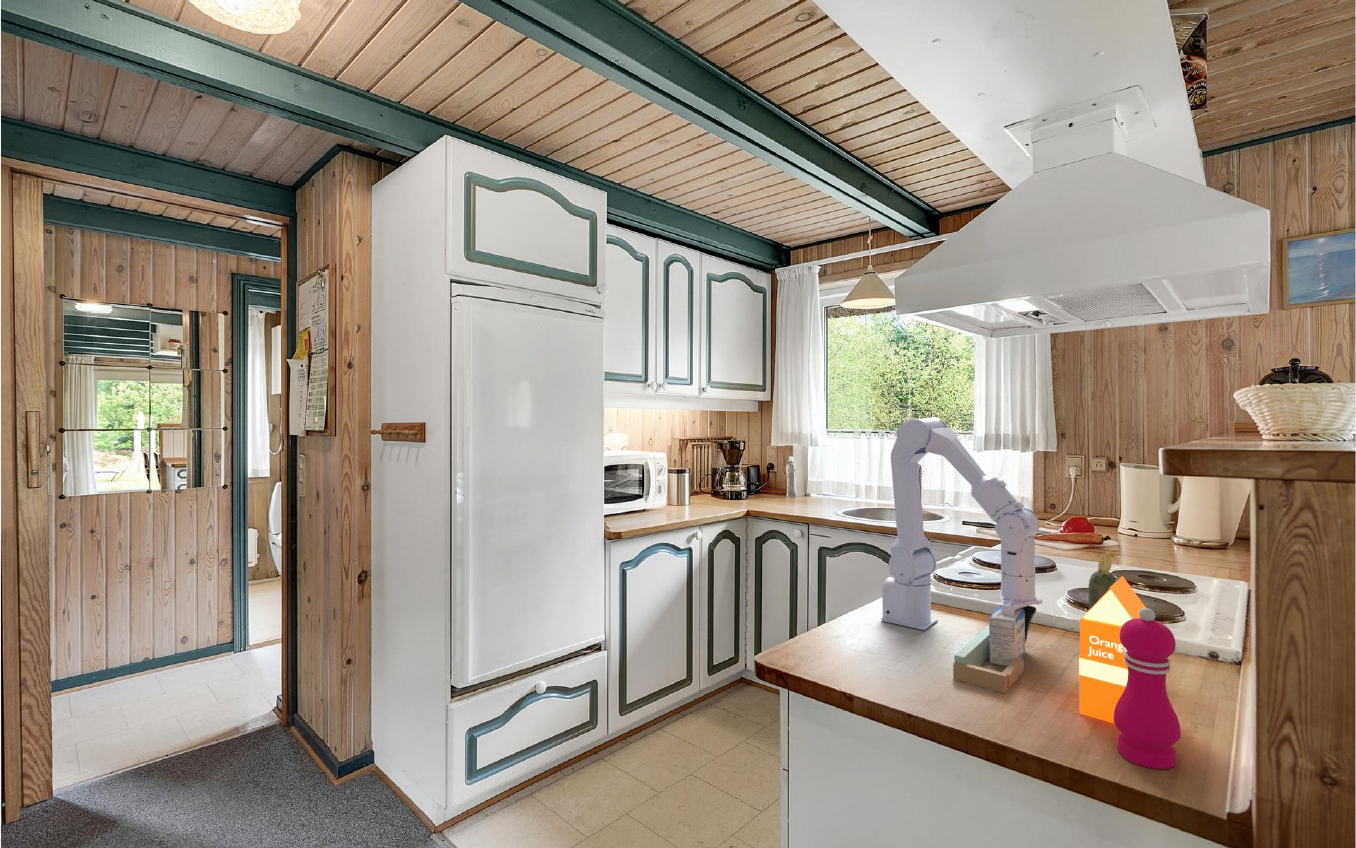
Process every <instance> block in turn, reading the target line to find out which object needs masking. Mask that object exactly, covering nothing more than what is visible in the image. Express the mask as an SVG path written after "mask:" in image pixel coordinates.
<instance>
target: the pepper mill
mask: <svg viewBox="0 0 1356 848" xmlns="http://www.w3.org/2000/svg"><path fill="white" fill-rule="evenodd" d="M1139 616H1140V618H1134V619H1131V620H1128V621H1127V622H1125V623H1124V624H1123V625H1122V627H1121V629H1120V634H1119V637H1120V642H1121V644H1122V645H1123V646H1124V648H1125V649H1126V650H1127V651H1126V652H1125V653H1124V657H1125V659H1124V663H1125V665H1127V667H1128V679H1127V684H1126V687H1125V689H1124V691H1123V693H1122V695H1121V697H1120V698H1119V700H1118V702H1117V704H1116V707H1115V709H1114V717H1113V720H1114V723H1113V724H1114V726H1115V727H1116V729H1117V730H1118V732H1119V733H1120V734H1119V735H1118V736H1117V752H1118V754H1120V755H1121V756H1122V758H1125V760H1127V761H1130V762H1131V763H1134V764H1135V765H1138V766H1140V767H1141V766H1142V767H1145V768H1148V769H1153V770H1168V769H1172V768H1173V767H1175V766H1176V764H1177V762H1176V761H1177V760H1176V755H1177V754H1176V749H1175V747H1174V745H1175V744H1177V743H1178V742H1179V741H1180V739H1181V735H1182V732H1181V724H1180V721H1179V719H1178V715H1177V714H1176V711H1175V710H1174V707H1173V705H1172V703H1171V701H1170V699H1169V696H1168V691H1167V674H1169V673H1170V672H1171V667H1170V666H1171V660H1170V659H1169V657H1170V656H1172V655H1173V654H1174V653H1175V650H1176V646H1177V643H1176V638H1175V636H1174V634H1173V632H1172V630H1171V629H1170V628H1169V627H1167V626H1166V625H1165V624H1164V623H1162V622H1160V621H1157V620H1155V619H1156V613H1155V612H1154V610H1153V609H1151V608H1148V607H1146V608H1143V609H1141V610H1140V611H1139Z"/></svg>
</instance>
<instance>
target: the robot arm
mask: <svg viewBox="0 0 1356 848" xmlns="http://www.w3.org/2000/svg"><path fill="white" fill-rule="evenodd" d="M895 432H896V439H895V442H894V444H893V447H892V449H891V451H890V467H891V479H892V480H891V481H892V488H893V489H892V490H893V499H894V500H893V502H894V513H895V524H896V535H897V536H896V538H895V540H894V541H893V543H892V545H891V547H890V552H891V554H890V558H889V561H888V571H889V574H890V575H891V576H889V577H887V578H886V579H885V581H884V582H883V586H882V597H881V598H882V617H881V618H880V620H881V621H882V622H886V623H890V624H895V625H899V626H903V627H908V628H912V629H917V630H919V631H920V630H921V631H925V630H927V629H929V628H930V627H931V626H932V625H934V624H935V623H937V622H938V621H939V618H938V617H935V616H932V615H931V614H932V611H931V607H932V606H931V605H932V604H931V602H932V601H931V599H932V598H931V597H932V594H931V591H932V589H931V583H932V582H931V579H932V577H931V575H932V574H933V573H934V572H935V570H936V568H937V559H936V556H935V554H934V553H933V551H932V546H931V541H930V540H929V539H928V538H927V537H926V535H925V532H924V531H925V530H924V529H925V528H924V519H923V509H922V506H923V505H922V496H921V485H920V474H919V472H920V471H919V464H918V463H919V462H920V461H921V460H922V459H923V458H924V457H925V456H926V455H928V453H930V454H933V455H938V456H942V457H944V458H945V459H946V460H947V462H949V463H950V465H951V466H952V467H953V468H954V469H955V470H956V471H957V472H958V473H959V474H960V476H962V477H963V478H964V480H966V481H967V483H969V485H970V487H971V489H970V491H971V493H970V494H971V496H972V498H973V499H974V500H975V501H976V503H978V504H979V506H980V507H981V508H982V509H983V511H984V512H985V514H987V515H988V517H989V518H990V519H991V520H992V521H993V522H994V523H995V525H994V531H995V532H996V534H997V536H998V538H999V539H1000V594H999V599H1000V602H1001V604H1000V606H1001V614H1006V615H1010V616H1014V615H1015V609H1018V608H1021V609H1024V611H1025V644H1026V643H1027V639H1028V634H1029V633H1028V632H1029V628H1030V624H1031V622H1032V619H1033V617H1034V615H1035V614H1036V611H1037V607H1036V606H1034V605H1040V606H1041V605H1042V604H1043V598H1040V597H1036V550H1035V549H1036V546H1035V545H1036V541H1035V540H1036V539H1035V535H1036V534H1038V532H1039V530H1040V525H1041V524H1040V521H1039V518H1038V515H1036V513H1035V511H1033V510H1032V509H1030V508H1028V507H1024V503H1022V502H1021V501H1017V499H1016V498H1015V497H1014V496H1013V494H1012V493H1011V492H1010V491H1009V490H1008V488H1007V483H1006V482H1005V481H1004V480H1003V479H1001V480H1000V479H998V478H997V477H995V476H989V475H987V474H986V473H985V472H984V470H983V469H982V468H981V466H979V464H978V463H977V462H976V460H975V459H974V458H973V456H971V454H970V453H969V452H968V450H967V449H966V447H964V445H963V443H962V442H961V441H960V440H959V439H958V436H957V435H956V433H955V430H954V429H952V428H951V427H949V426H948V424H947V423H946V422H945V421H944V419H942V418H939V417H937V416H935V417H927V418H909V419H907V420H906V421H903V423H902V424H901V425H900V426H899V427H898V428H897V429H896V431H895ZM1032 605H1033V606H1032Z"/></svg>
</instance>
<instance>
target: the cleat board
mask: <svg viewBox="0 0 1356 848" xmlns="http://www.w3.org/2000/svg"><path fill="white" fill-rule="evenodd" d="M988 658H990V640H989V624H988V625H987V626H986V627H985V628H984V629H982V630H981V631H980V632H979V633H978V634H977V635H976V636H975V637H973V638H972V639H971V640H970V641H968V643H966V644H965V645H964V646H963V647H962V648H961V649H960V650H959V651H957V652H956V653H955V654H954V657H953V659H954V661H953V663H952V671H953V672H952V675H953V677H952V679H953V680H955V681H958V682H962V683H966V684H969V685H974V686H978V687H981V688H983V689H987V690H992V691H995V692H999V693H1003V694H1006V693H1007V691H1008V689H1010V688H1011V687H1012V685H1014V683H1015V682H1016V681H1017V680H1018V679H1019V677H1020V676H1021V675H1022V674H1023V673H1024V671H1025V661H1024V660H1025V658H1019V657H1016V658H1015V659H1014V660H1013V661H1012V662H1011V663H1010V664H1009V665H1008V667H1007V666H1006V667H1005V669H1004V670H1003V671H997V670H993V669H989V668H985V667H981V665H982V664H983V663H984V662H985V661H986V660H987V659H988Z"/></svg>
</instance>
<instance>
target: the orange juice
mask: <svg viewBox="0 0 1356 848" xmlns="http://www.w3.org/2000/svg"><path fill="white" fill-rule="evenodd" d="M1116 580H1117V581H1116V582H1115V583H1114V584H1113V585H1112V586H1111V587H1110V590H1109V591H1108V592H1107V593H1106V594H1105V595H1104V596H1103V597H1102V598H1101V599H1100V600H1099V601H1098V602H1097V603H1096V604H1095V605H1094V606H1093V607H1092V608H1091V609H1090V610H1089V609H1088V611H1087V612H1086V613H1085V614H1084V615H1083V616H1081V617H1080V618H1079V662H1078V663H1079V664H1078V666H1079V667H1078V669H1079V672H1078V675H1079V710H1078V711H1079V714H1081V715H1083V716H1087V717H1090V718H1093V719H1097V720H1101V721H1104V722H1107V723H1111V724H1114V720H1113V717H1114V709H1115V707H1116V704H1117V702H1118V700H1119V698H1120V697H1121V695H1122V693H1123V691H1124V689H1125V687H1126V684H1127V679H1128V667H1127V665H1125V663H1124V659H1125V657H1124V653H1125V652H1126V651H1127V650H1126V649H1125V648H1124V646H1123V645H1122V644H1121V642H1120V637H1119V634H1120V629H1121V627H1122V625H1123V624H1124V623H1125V622H1127V621H1128V620H1131V619H1134V618H1140V616H1139V611H1140V610H1141V609H1143V608H1147V607H1146V606H1145V604H1144V603H1143V602H1142V601H1141V599H1140V597H1139V596H1138V595H1137V594H1136V592H1135V591H1134V589H1133V588H1132V586H1130V584H1129V583H1128V581H1127V580H1126V579H1125V577H1124V576H1123V575H1122V576H1121V577H1119V579H1116Z"/></svg>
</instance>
